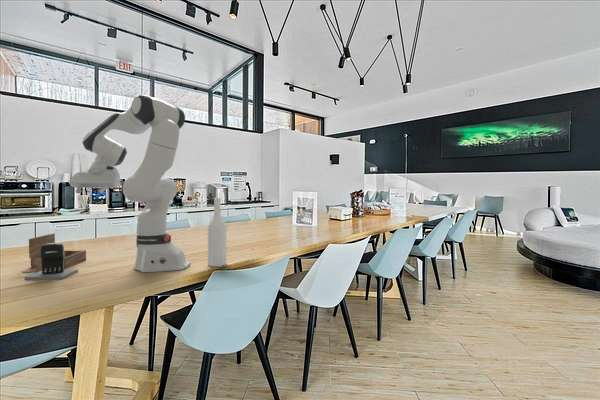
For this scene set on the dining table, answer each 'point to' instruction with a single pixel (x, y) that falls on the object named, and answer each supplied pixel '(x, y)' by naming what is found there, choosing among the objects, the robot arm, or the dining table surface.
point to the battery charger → (52, 258)
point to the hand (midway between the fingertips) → (88, 192)
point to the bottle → (217, 238)
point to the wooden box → (35, 253)
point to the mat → (51, 275)
